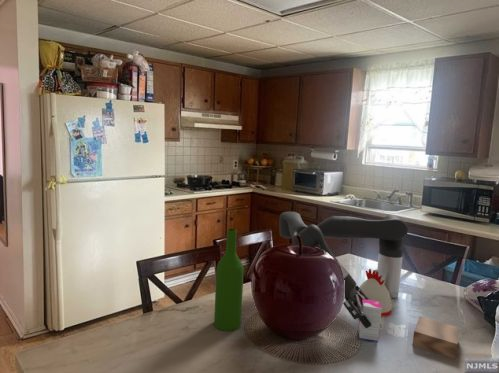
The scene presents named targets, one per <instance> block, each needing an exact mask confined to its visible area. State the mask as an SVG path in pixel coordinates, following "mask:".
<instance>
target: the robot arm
mask: <svg viewBox="0 0 499 373" xmlns="http://www.w3.org/2000/svg"><path fill="white" fill-rule="evenodd" d="M278 219H279V223H278V224H279V226H278V227H279V236H280V237H281V238H284V239H291V241H292V245H293V246H294V245H298V239H297V235H300V236H301V239H302V244H303V245H304V246H310V247H314V248H316V247H317V246H319V250H320V249H323V250H325V251H326V252H328V253H329V254H330V255H331V256H333V257H334V258H335V260H336V261H337V262H338V263H339V265H340V266H341V269H342V272H343V275H344V280H345V297H343V298H344V299H345V300H344V302H342V304H343V306H344V307H345V309H346V310H347V312H348V313H349V314H350V315H351V317H352V319H353V320H360V321H361V323H362V324H363V325H364V327H365V328H368V327H370V326H371V322H370V321H369V320H368V319H367V317H366V316H365V315H364V314H363V311H362V306H361V303H362V299H366V300H368V298H367V296H366V295H365V294H364V293H363V292H362V290H361V289H360V288H359V287H360V286H359V285H357V282H356V281H355V280H354V278H353V277H352V275H351V274H350V273H349V272H348V271H347V269H346V268H345V266H343V265H342V263H340V261H339V260H338V259H337V258H336V256H335V255H334V254H333V253H332V250H330V248H329V246H328V244H327V242H326V240H325V238H326V239H376V240H377V239H378V247H379V249H378V257H377V258H378V259H377V268H376V269H374V270H375V274H376V272H377V271H378V274H379V276H382V277H381V282H382V281H383V280H385V281H384V283H383V284H384V285H385V286H386V288H387V290H388V291H389V294H390V298H391V299H396V298H398V297H399V294H400V293H399V292H400V284H401V276H402V267H403V266H402V265H403V256H404V247H403V239H404V238H405V237H406V236H407V235H408V232H409V227H408V224H407V223H406V222H405V221H404V220H403V219H402V218H401V217H400V216H398V215H395V214H389V215H386V216H385V217H384V218H382V219H379V220H377V219H376V220H373V219H372V220H371V219H364V218H361V217H357V216H348V215H346V216H345V215H343V216H342V215H341V216H340V215H333V216H329V217H328V218H326V219H324V220H323V221H322V222H319V223H318V224H317V225H316V224H312V223H311V224H309V225H307V224H305V223H304V221H303V219H302V217H301V214H300V213H298V212H296V211H285V212H282V213H280V215H279V218H278Z"/></svg>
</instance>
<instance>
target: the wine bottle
mask: <svg viewBox="0 0 499 373" xmlns="http://www.w3.org/2000/svg"><path fill="white" fill-rule="evenodd" d="M226 231H227V234H226V246H225V247H226V248H225V253H224V254H223V256H222V257H221V258H220V260H219V261H218V263H217V265H216V270H215V272H216V273H215V274H216V275H215V294H214V295H215V297H214V298H215V299H214V319H213V320H214V321H213V322H214V326H215V328H217V329H218V330H220V331H224V332H232V331H237V330H238V329H239V328H240V327H241V325H242V311H243V310H242V308H243V293H244V292H243V289H244V288H243V287H244V269H245V268H244V264H243V263H242V261H241V260H240V258H239V256H238V254H237V229H236V228H227V230H226Z"/></svg>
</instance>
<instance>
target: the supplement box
mask: <svg viewBox="0 0 499 373" xmlns="http://www.w3.org/2000/svg"><path fill="white" fill-rule="evenodd" d="M361 306H362V311H363V314H364V315H365V316H366V317H367V319H368V320H369V321H370V322H371V326H370V327H368V328H365V327H364V325H363V324H362V323H361V321H360V320H359V319H358V320H359V321H358V330H357V333H358V334H357V335H358V338H359V340H360V341H367V342H372V343H373V342H374V343H378V341H379V335H380V329H381V328H380V326H381V321H382V317H381V312H382V308H381V305H380V302H379V301H372V300H366V299H362V303H361Z"/></svg>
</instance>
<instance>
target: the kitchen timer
mask: <svg viewBox="0 0 499 373" xmlns="http://www.w3.org/2000/svg"><path fill="white" fill-rule="evenodd" d="M375 270H376V269H374V270H372V269H371V268H369V269H368V270H366V271H365V275H366V280H365V281H362V283H361V284H360V285H359V286H358V287H359V288H360V289H361V290H362V292H363V293H364V294H365V295H366V296H367V298H368V300H372V301H379V302H380V305H381V308H382V312H381V318H384V317H389V316H391V314H392V307H393V306H392V298H390V294H389V291H388V290H387V288H386V286H385V285H384V284H383V283H384V281H385V280H383V281H382V282H381V277H382V276H379V274H378V271H377V272H376V274H375Z"/></svg>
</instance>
